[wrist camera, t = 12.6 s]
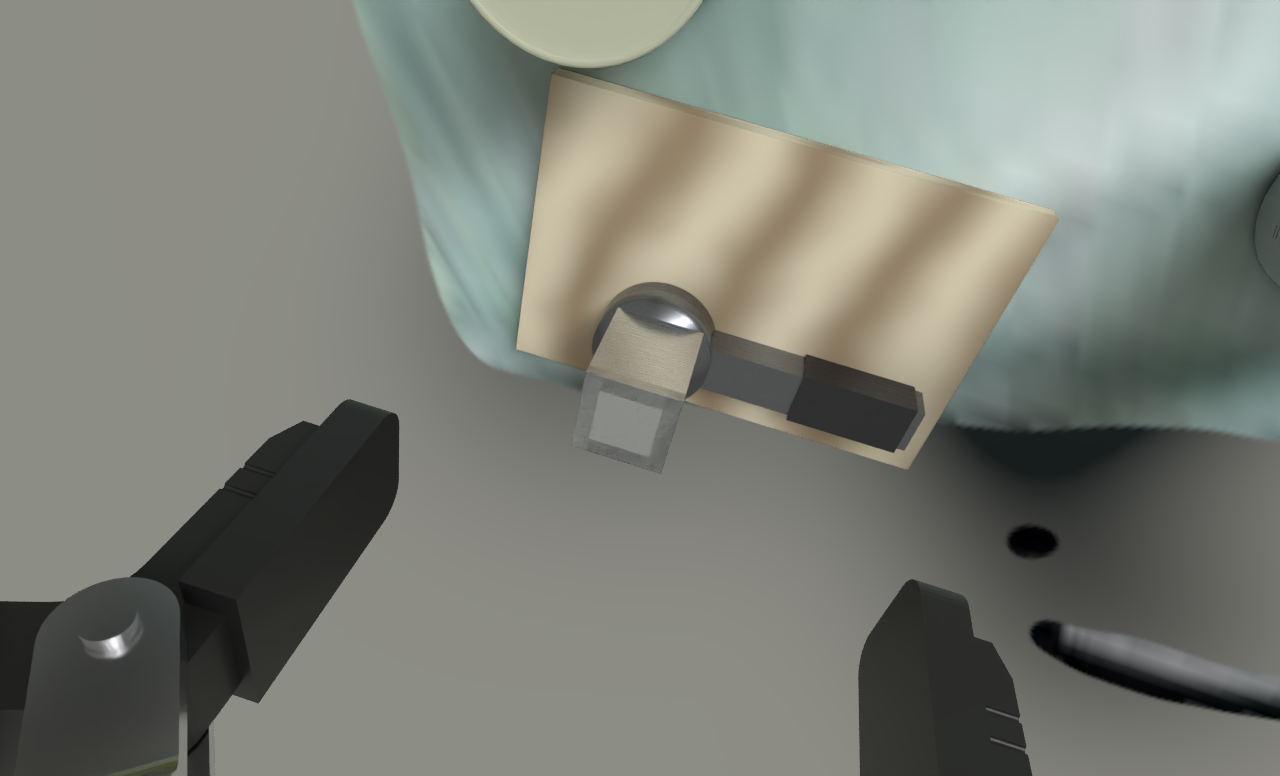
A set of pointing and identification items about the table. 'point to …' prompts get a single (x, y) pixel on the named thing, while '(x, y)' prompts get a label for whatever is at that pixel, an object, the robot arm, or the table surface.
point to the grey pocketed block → (636, 389)
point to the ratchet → (781, 375)
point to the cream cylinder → (587, 27)
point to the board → (767, 245)
